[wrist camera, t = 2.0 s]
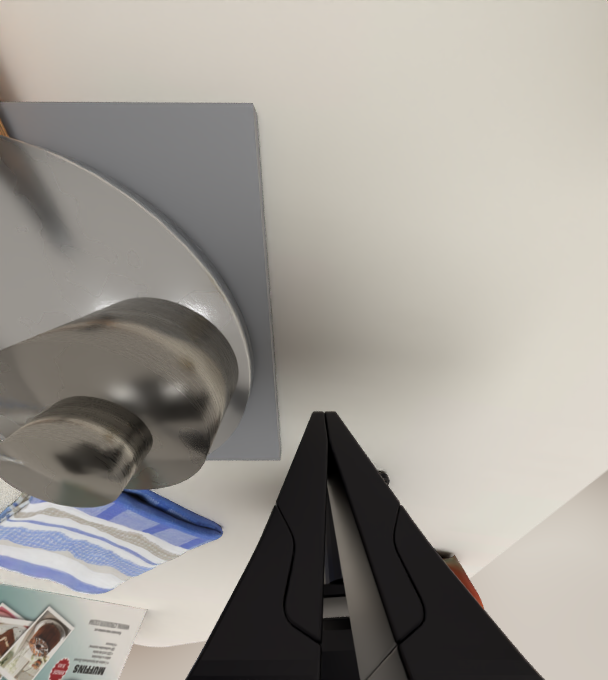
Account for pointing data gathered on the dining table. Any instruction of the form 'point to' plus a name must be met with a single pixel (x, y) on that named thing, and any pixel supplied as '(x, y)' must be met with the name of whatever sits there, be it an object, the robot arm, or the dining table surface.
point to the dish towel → (98, 539)
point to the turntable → (99, 257)
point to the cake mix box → (63, 636)
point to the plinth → (185, 207)
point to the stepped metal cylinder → (113, 402)
